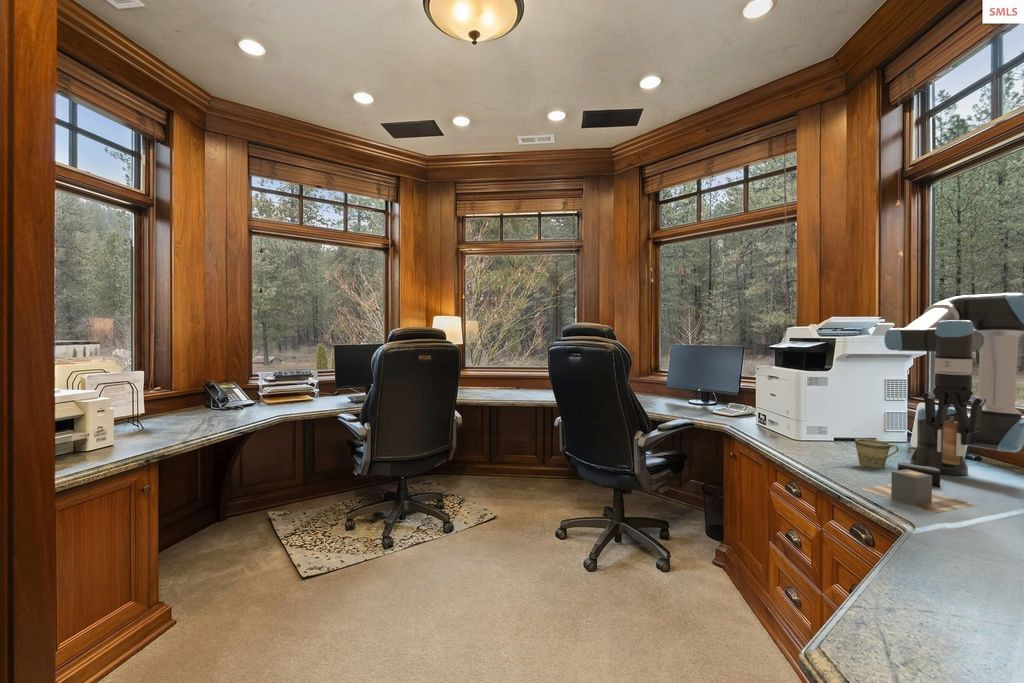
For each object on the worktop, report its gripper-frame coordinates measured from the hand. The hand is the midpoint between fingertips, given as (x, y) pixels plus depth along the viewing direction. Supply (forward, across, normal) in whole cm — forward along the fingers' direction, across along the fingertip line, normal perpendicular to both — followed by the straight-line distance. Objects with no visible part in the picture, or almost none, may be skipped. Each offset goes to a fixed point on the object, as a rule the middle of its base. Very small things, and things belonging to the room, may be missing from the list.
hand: (951, 453), depth 123 cm
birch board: (+15, -6, -5) cm, 17 cm away
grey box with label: (+14, -4, -10) cm, 18 cm away
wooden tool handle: (+3, 0, 0) cm, 3 cm away
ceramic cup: (+16, -30, +18) cm, 38 cm away
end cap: (+16, -14, +12) cm, 24 cm away
